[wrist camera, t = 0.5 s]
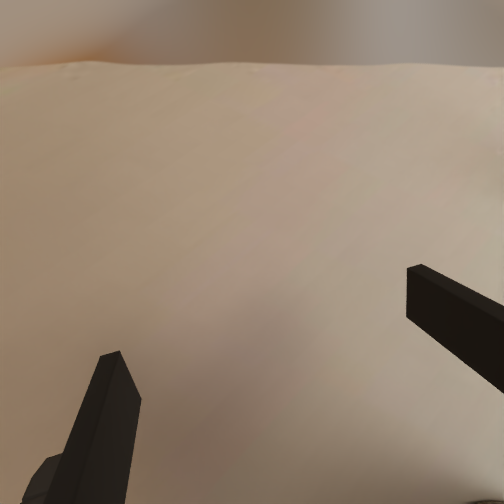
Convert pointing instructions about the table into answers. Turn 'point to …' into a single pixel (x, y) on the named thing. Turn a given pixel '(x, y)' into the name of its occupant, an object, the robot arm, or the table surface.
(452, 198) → the table surface
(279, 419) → the table surface
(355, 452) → the table surface
